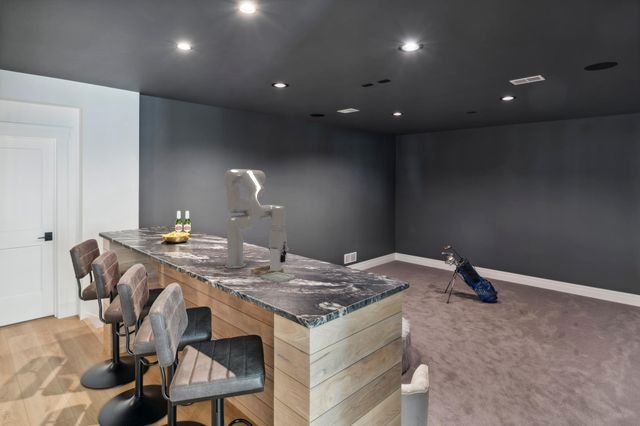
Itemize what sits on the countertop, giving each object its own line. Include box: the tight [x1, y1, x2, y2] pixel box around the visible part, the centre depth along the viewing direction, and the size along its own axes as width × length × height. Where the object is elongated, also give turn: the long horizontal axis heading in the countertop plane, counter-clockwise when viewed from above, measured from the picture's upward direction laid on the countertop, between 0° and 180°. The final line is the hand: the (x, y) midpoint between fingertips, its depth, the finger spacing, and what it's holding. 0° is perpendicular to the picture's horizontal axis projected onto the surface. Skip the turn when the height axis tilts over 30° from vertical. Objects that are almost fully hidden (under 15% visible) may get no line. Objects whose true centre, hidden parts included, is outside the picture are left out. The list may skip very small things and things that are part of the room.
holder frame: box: [250, 264, 284, 277], centre depth 217 cm, size 12×14×2 cm
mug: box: [269, 247, 288, 271], centre depth 203 cm, size 10×7×12 cm, turn 127°
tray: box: [260, 272, 296, 284], centre depth 204 cm, size 14×12×2 cm
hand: (278, 260), depth 203 cm, fingers closed on mug, 6 cm apart
